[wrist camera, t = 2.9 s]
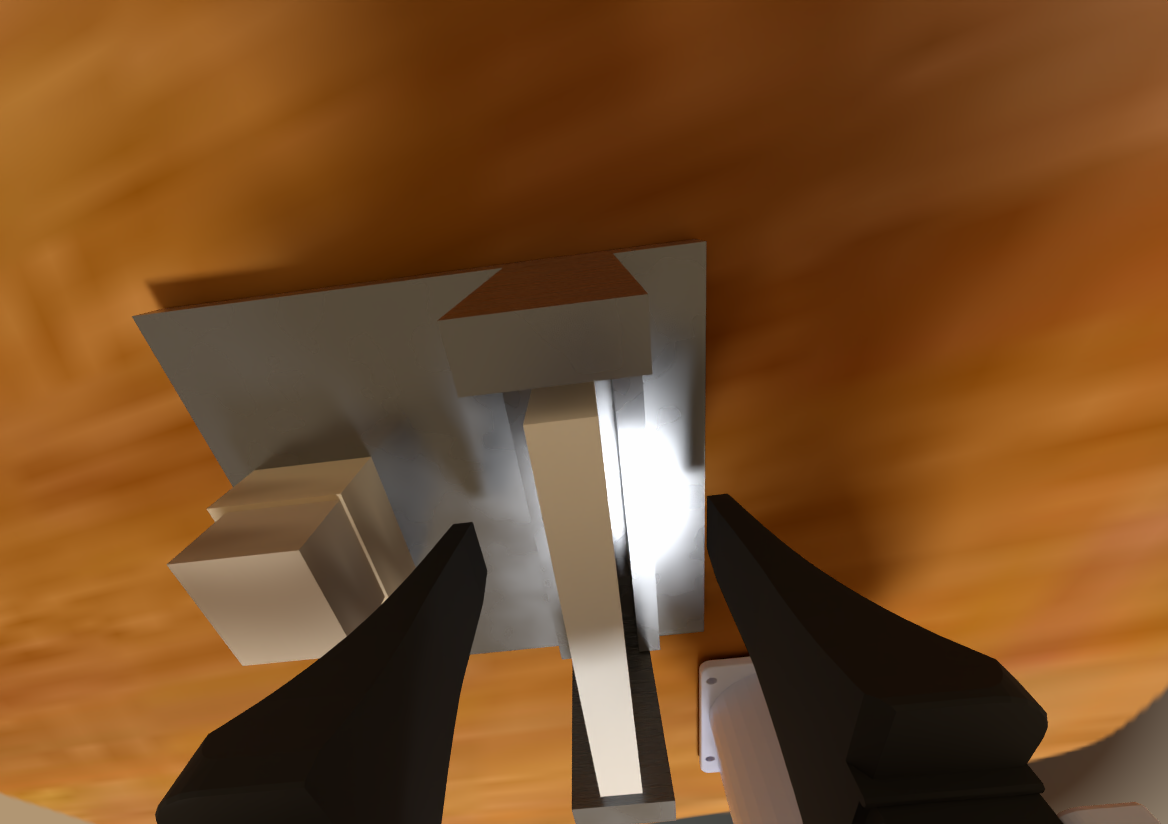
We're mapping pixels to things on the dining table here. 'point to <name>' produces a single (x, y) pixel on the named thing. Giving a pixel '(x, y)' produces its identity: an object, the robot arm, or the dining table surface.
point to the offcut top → (280, 580)
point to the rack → (488, 433)
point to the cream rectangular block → (585, 571)
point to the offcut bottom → (326, 483)
